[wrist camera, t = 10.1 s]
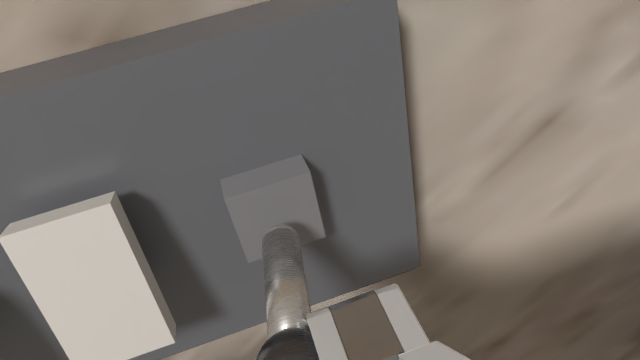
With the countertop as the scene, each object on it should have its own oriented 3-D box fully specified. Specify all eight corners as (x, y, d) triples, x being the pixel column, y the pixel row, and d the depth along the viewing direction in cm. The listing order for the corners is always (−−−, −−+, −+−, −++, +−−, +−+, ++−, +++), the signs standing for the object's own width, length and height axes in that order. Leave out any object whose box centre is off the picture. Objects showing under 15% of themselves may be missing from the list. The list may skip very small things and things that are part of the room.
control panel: (367, -26, 14) (433, 7, 10) (398, 233, 19) (446, 306, 16) (-542, 219, 11) (-836, 367, 8) (-192, 437, 17) (-275, 573, 13)
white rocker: (115, 190, 12) (110, 203, 12) (176, 325, 14) (175, 342, 13) (9, 223, 12) (-3, 238, 11) (85, 356, 14) (79, 376, 13)
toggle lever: (302, 201, 13) (334, 373, 9) (313, 245, 14) (347, 419, 9) (242, 215, 13) (245, 394, 9) (258, 258, 14) (267, 439, 9)
